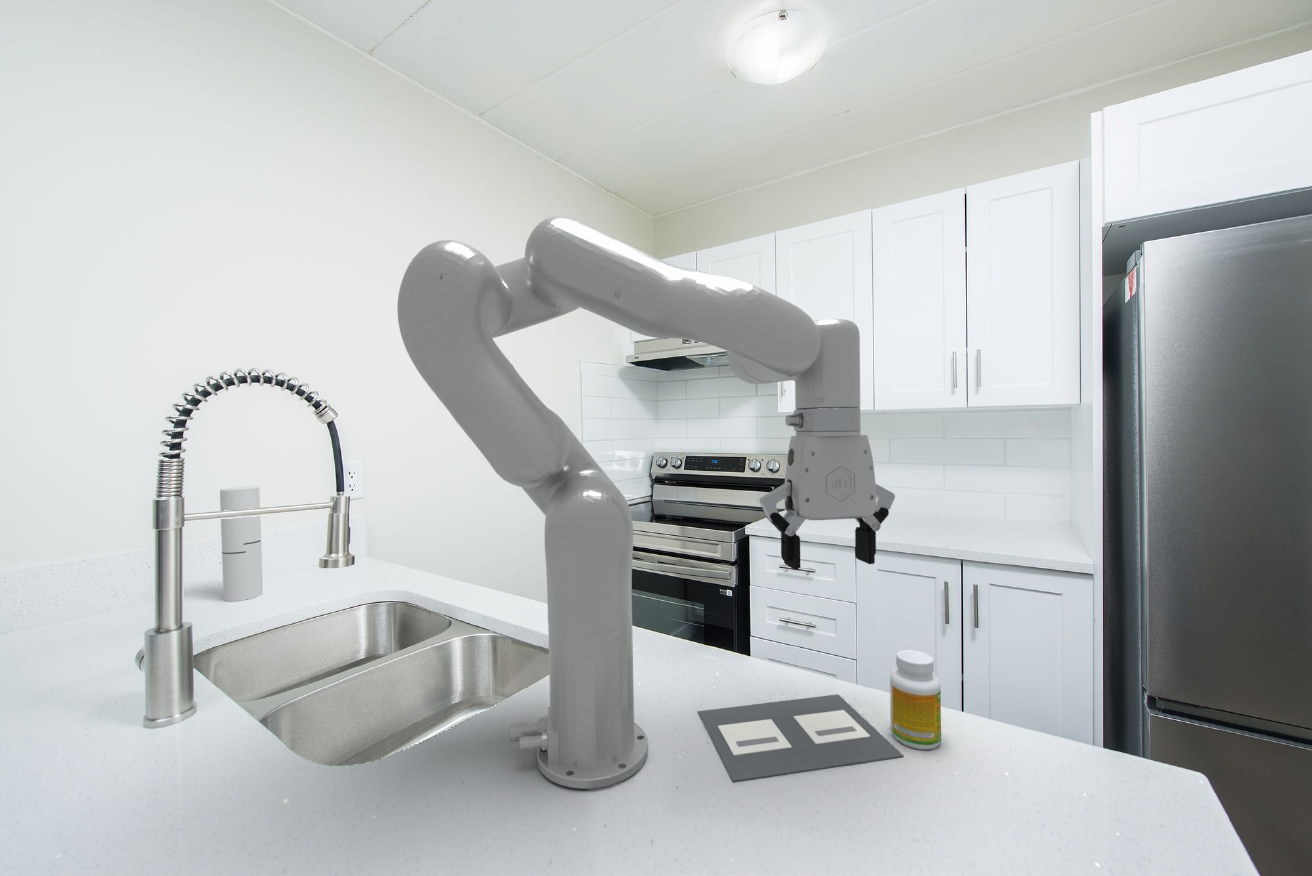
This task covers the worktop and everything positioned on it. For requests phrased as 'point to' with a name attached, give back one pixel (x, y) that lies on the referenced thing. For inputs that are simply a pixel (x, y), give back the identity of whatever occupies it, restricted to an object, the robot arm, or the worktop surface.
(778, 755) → the label mat
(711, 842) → the worktop surface
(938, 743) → the supplement bottle
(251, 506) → the cylindrical container
